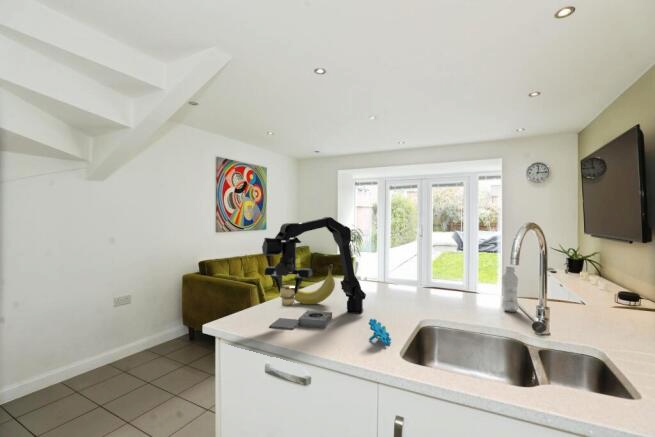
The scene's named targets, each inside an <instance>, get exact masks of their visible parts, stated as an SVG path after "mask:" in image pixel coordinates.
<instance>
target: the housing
mask: <svg viewBox="0 0 655 437" xmlns="http://www.w3.org/2000/svg"><path fill="white" fill-rule="evenodd" d="M297 320H298V326H297V327H306V328H317V329H326V328H327V327H328V325H329V324H330V323H331V321H332V320H333V312H331V311H322V310H321V311H319V310H306V311H305V312H303V314H302V315H301V316H299V318H298V319H297Z"/></svg>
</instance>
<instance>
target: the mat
mask: <svg viewBox="0 0 655 437" xmlns="http://www.w3.org/2000/svg"><path fill="white" fill-rule="evenodd" d="M268 327H269V328H272V329H280V330H292V331H293V330H295V329H296V328H297V327H299V326H298V319H296V318H295V319H294V318H284V317H283V318H282V317H279V318H278V319H276V320H275V321H274V322H273V323H271V324H270V325H269V326H268Z"/></svg>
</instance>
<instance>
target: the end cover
mask: <svg viewBox="0 0 655 437" xmlns="http://www.w3.org/2000/svg"><path fill="white" fill-rule="evenodd" d="M295 297H296V294H295V285H293V284H284V285H283V284H282V286H280V293H279V298H281V306H283V307H292V306H294V305H295V300H294V298H295Z"/></svg>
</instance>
